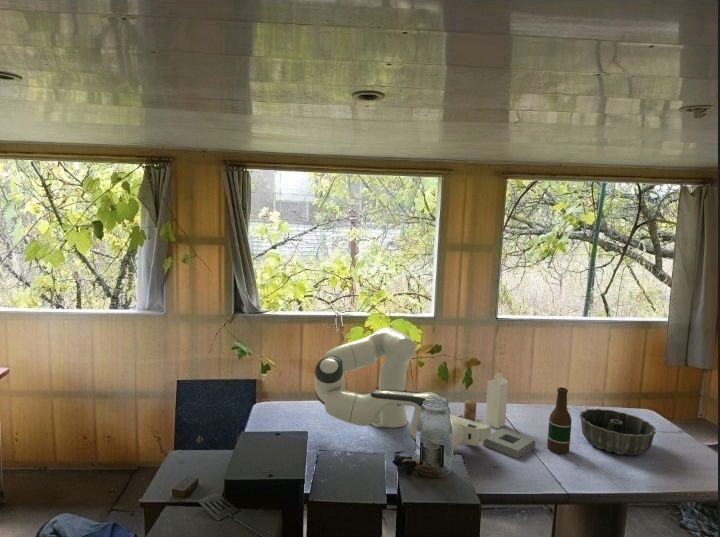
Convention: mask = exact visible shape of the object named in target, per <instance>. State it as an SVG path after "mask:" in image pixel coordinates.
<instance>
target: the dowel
mask: <svg viewBox="0 0 720 537" xmlns="http://www.w3.org/2000/svg"><path fill="white" fill-rule="evenodd" d="M463 407H464V408H463V409H464V410H463V418H464V419H468V420H472V421H475V422H476V420H477V419H476V416H477V402H476V401H475V400H470V399H469V400H468V399H467V400H465V401H464V405H463Z"/></svg>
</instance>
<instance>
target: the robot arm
mask: <svg viewBox="0 0 720 537" xmlns="http://www.w3.org/2000/svg"><path fill="white" fill-rule="evenodd" d="M415 354H416V344H415V342H414V340H412V338H410V336H409V335H407V334H405V333H403V332H402V331H399V330H397V329H395V328H393V327H390V326H385V327H384V326H382V327H379V328H378V329H377V330H376V331H375V332H373V333H371V334H370V335H367V336H366V337H363V338H361V339H356V340H353V341H350V342H349V341H348V342H346V343H343V344H341V345H338V346H336V347H333V348H332V349H329V350H328V351H326V353H324V356H323V358H321V359H320V360H319V361H318V362H317V363H316V365H315V367H314V368H315V369H314V378H313V379H314V387H315V396H316V398H317V400H318V402H320V403H321V404H322V405H324V409H325V412H326V413H327V414H328V415H329V416H330V417H333V418H335V419H337V420H340V421H341V422H342V421H343V422H345V423H349V424H351V425H355V426H360V427H366V426H369V425H372V426H373V427H375V428H390V429H391V428H393V429H394V428H401V427H404V426H406V425H407V424H408V418H407V413H406V412H407V411H406V406H411V407H414V410H413V413H412V414H413V415H412V418H411V423H410V427H409V433H408V434H409V435H410V437H411V438H412V440H413V441H414V442H415V443H416V428H417V424H418V421H419V418H420V413H421V406H422V404H423V401H424V400H425V398H427V397H430V396H437V397H441V396H440V395H439V394H438V393H436V392H432V391H409V390H407V389H406V378H407V369H408V366H409V362H410V360H411V359H412V358H413V357H414V356H415ZM382 357H384V360H383V361H384V362H383V364H382V366H381V367H380V369H379V374H378V375H379V376H378V386H377V387H376V386H375V387H374V388H373V391H371V392H370V393H358V392H354V391H349V390H347V389H346V388H345V387H344V382H345V381H344V374H346V373H347V372H352V371H355V370H359V369H361V368H364V367H367V366H368V367H369V366H371V365H373V364H374V363H375V361H376V360H378V359H380V358H382ZM450 422H451V426H452V450H453V451H454V450H455V449H457V448H458V446H465V445H466V446H473V447H474V446H475V447H477V446H479V445H480V443H482V442H483V441H484V440H486V439H487V438H488V437H489V436H490V434H491V433H492V431H491V430H492V426H489V425H487V424H485V423H482V422H483V421H482V420H481V419H476V420H475V421H472V420H468V419H464V414H460V413H459V414H457V415H453V414H450Z"/></svg>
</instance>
